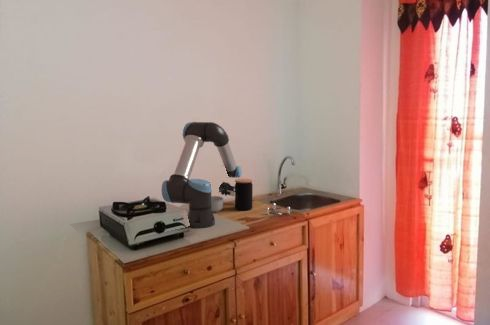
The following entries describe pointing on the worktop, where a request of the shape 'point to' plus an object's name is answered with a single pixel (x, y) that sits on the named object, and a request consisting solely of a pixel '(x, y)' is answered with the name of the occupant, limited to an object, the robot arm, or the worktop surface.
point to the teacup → (216, 203)
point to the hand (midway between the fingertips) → (242, 192)
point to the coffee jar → (243, 194)
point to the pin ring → (276, 211)
